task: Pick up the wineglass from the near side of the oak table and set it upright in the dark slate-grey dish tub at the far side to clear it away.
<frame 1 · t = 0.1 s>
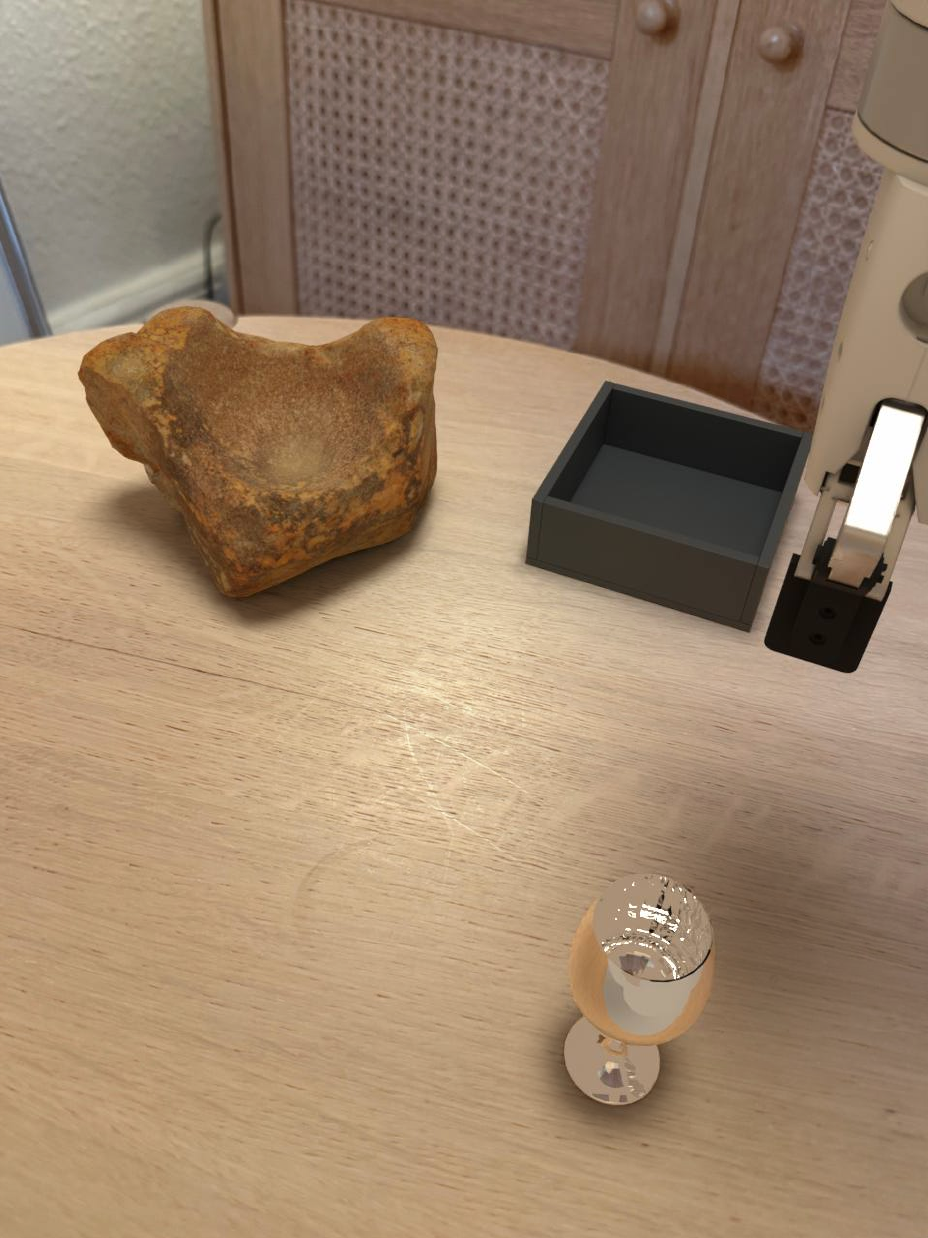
hand: (832, 570, 41), 22 cm above the table, tool pointing down, fingers open, 9 cm apart
rough brown rock: (279, 543, 75), on the table
wineglass: (611, 1058, 50), on the table
dish tub: (665, 528, 77), on the table
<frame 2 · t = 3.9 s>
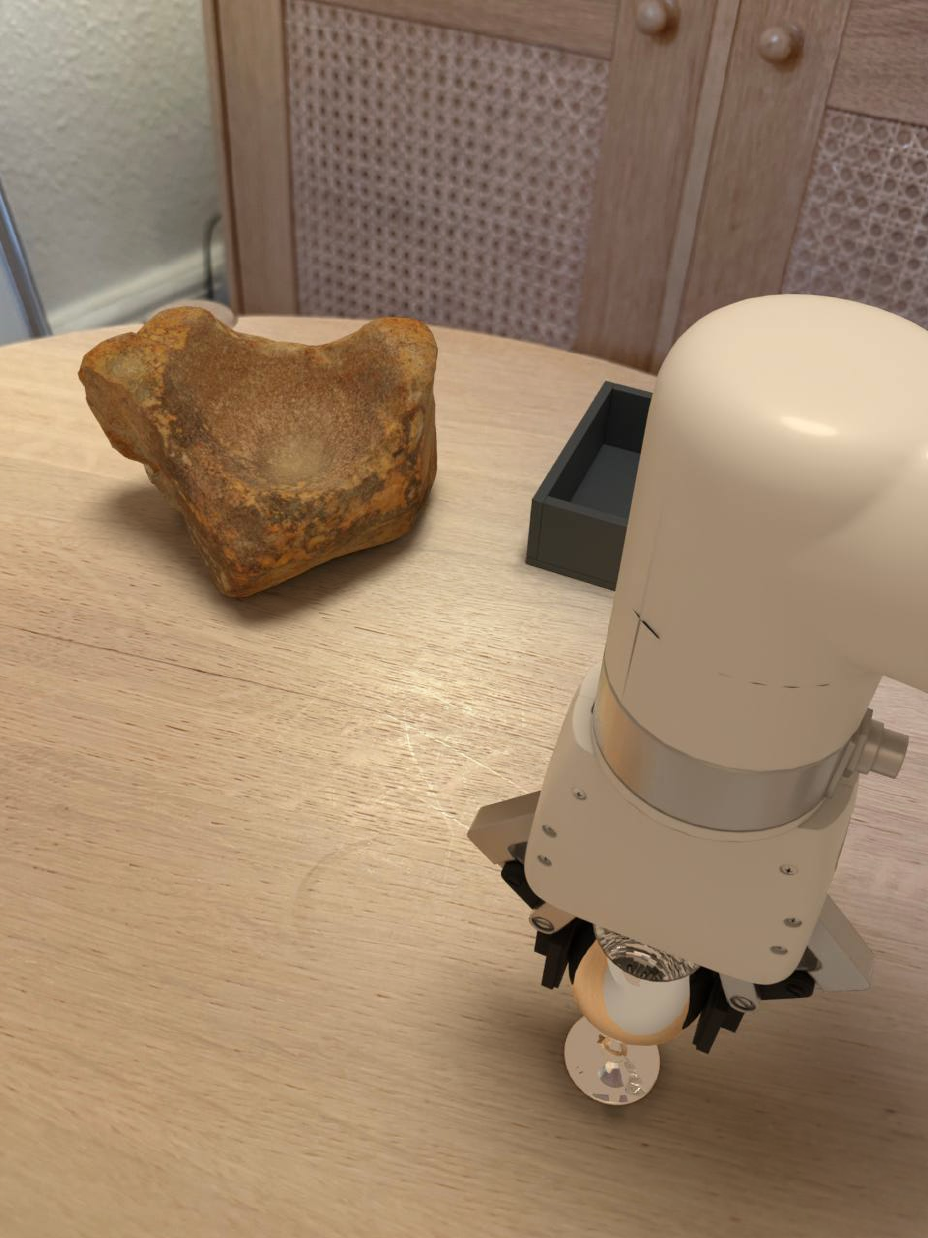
hand: (633, 986, 45), 7 cm above the table, tool pointing down, fingers closed on wineglass, 5 cm apart
wineglass: (611, 1058, 50), on the table, touching gripper
everything else where it was.
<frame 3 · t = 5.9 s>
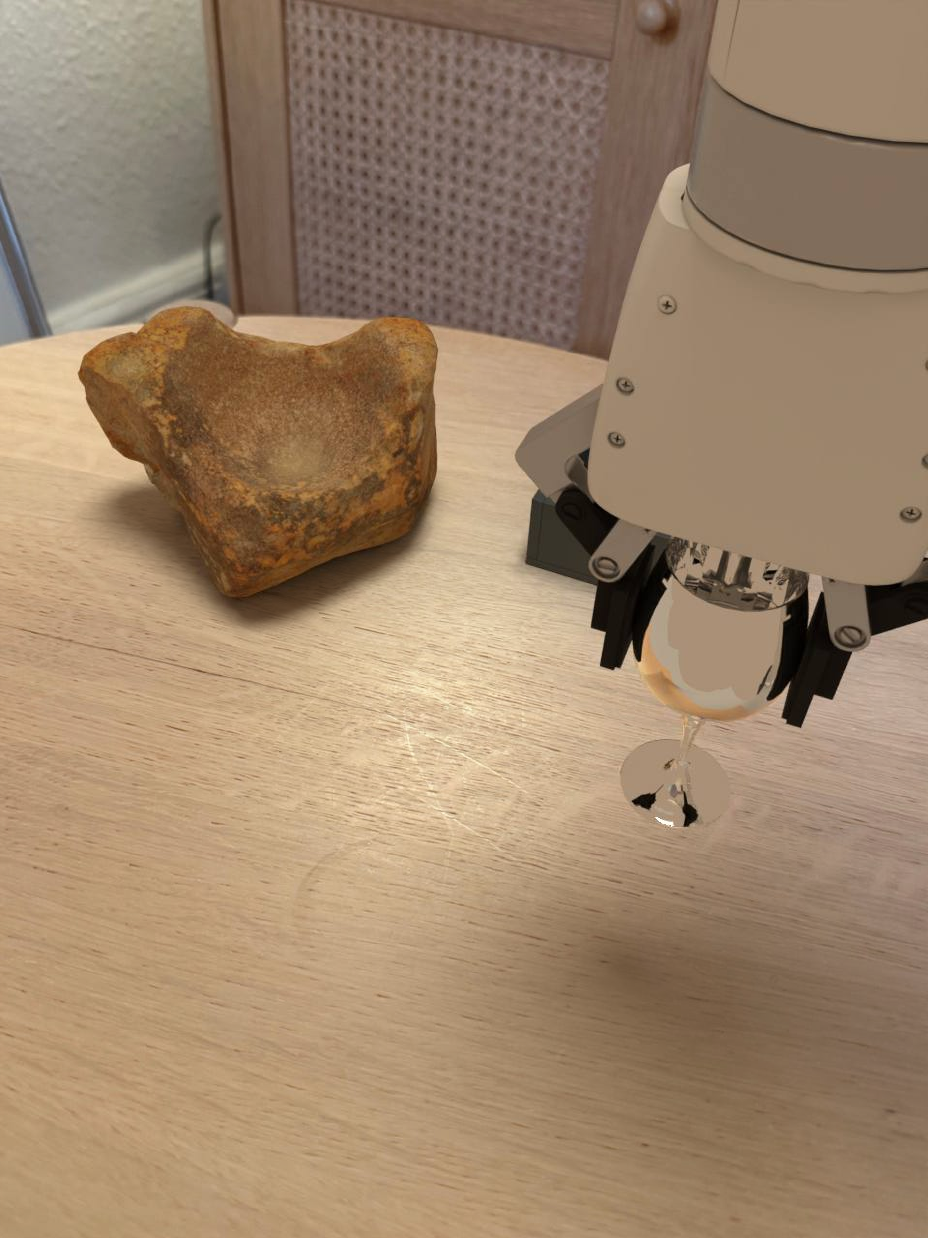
hand: (707, 666, 39), 21 cm above the table, tool pointing down, fingers closed on wineglass, 5 cm apart
wineglass: (674, 787, 44), point 14 cm above the table, touching gripper
everything else where it was.
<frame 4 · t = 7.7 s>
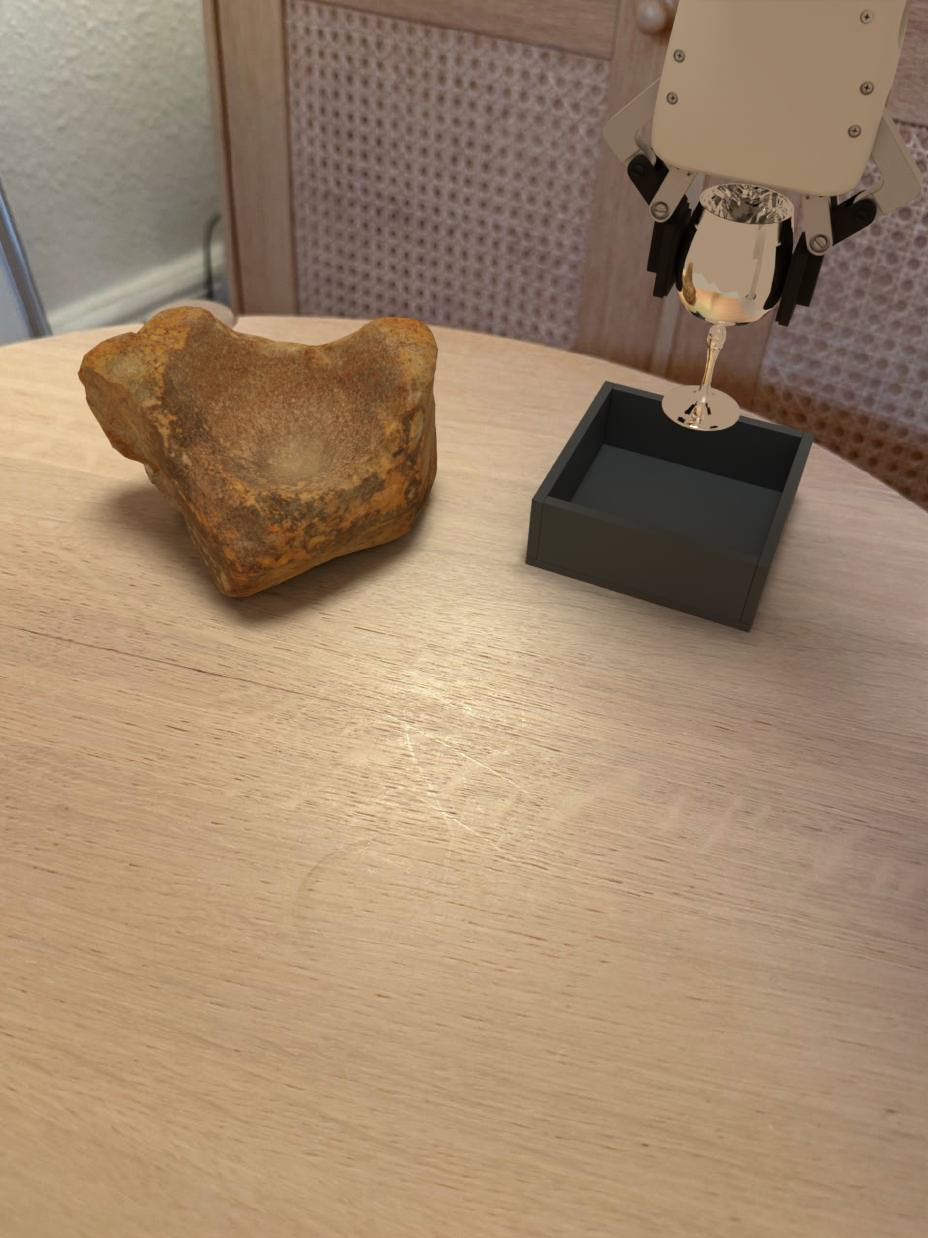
hand: (725, 296, 57), 22 cm above the table, tool pointing down, fingers closed on wineglass, 5 cm apart
wineglass: (700, 411, 62), point 15 cm above the table, touching gripper
everything else where it was.
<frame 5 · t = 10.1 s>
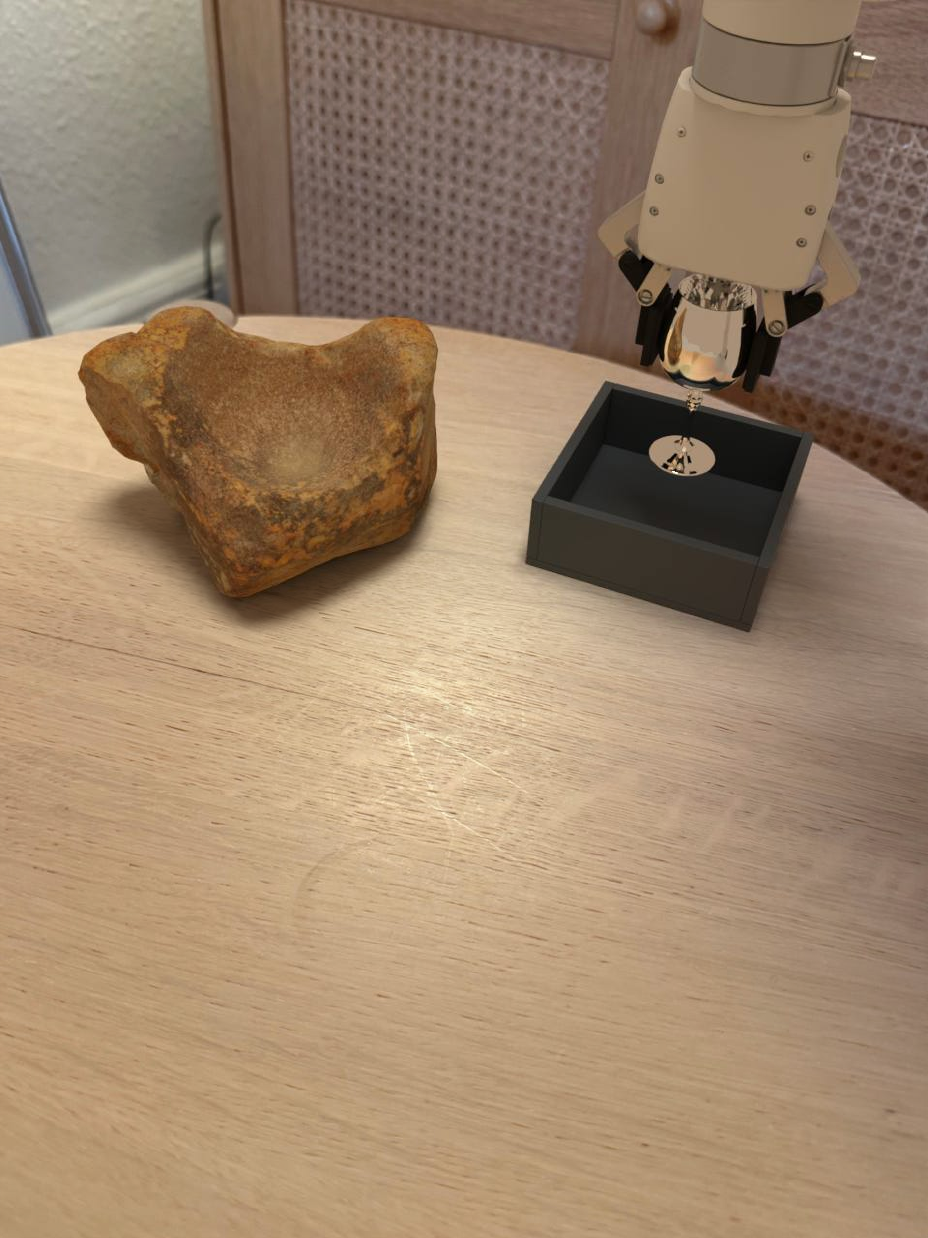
hand: (701, 366, 68), 13 cm above the table, tool pointing down, fingers closed on wineglass, 5 cm apart
wineglass: (681, 458, 73), point 6 cm above the table, touching gripper
everything else where it was.
when the fingers open (8 cm above the table, at t = 11.9 s): wineglass stays where it is, resting on dish tub.
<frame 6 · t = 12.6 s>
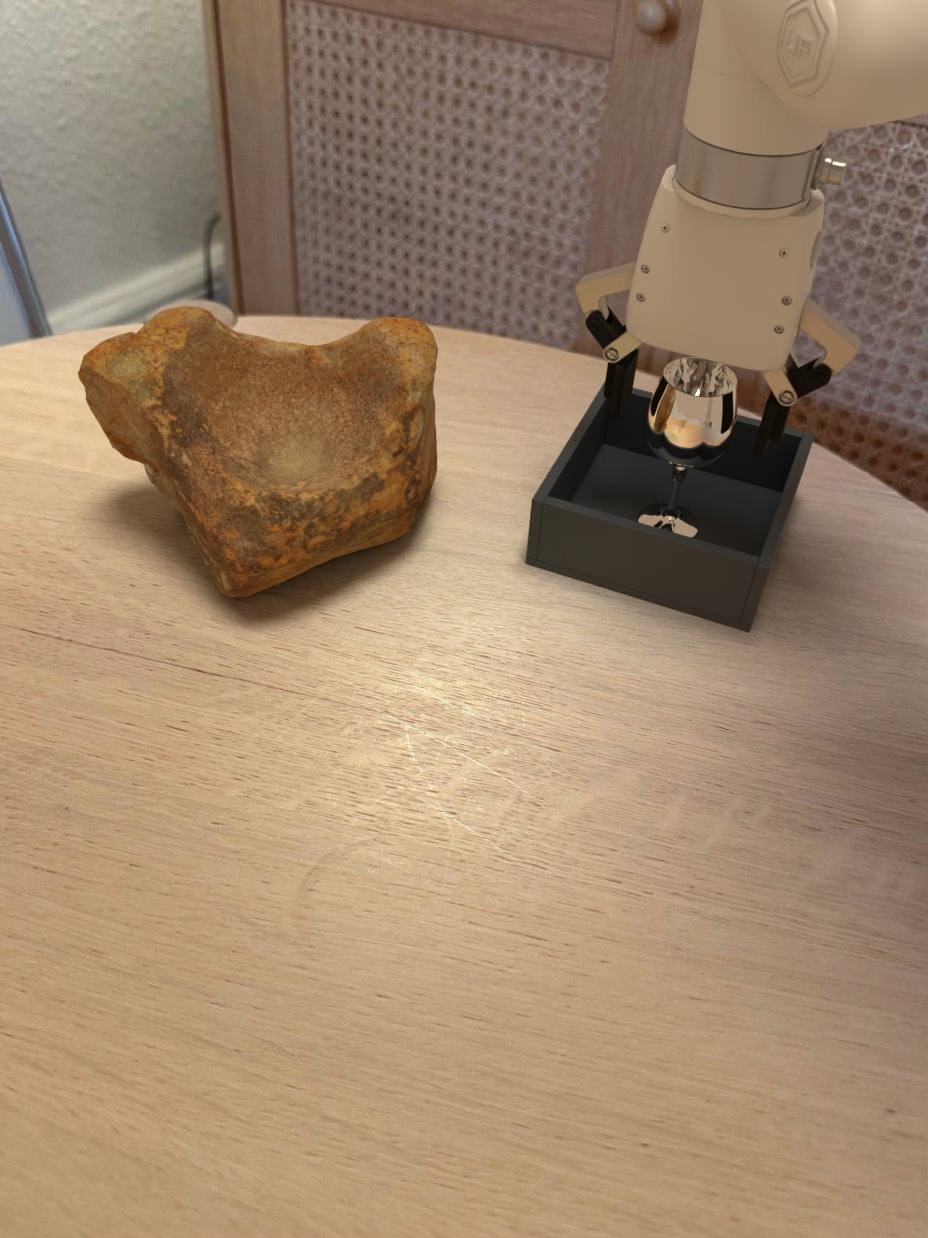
hand: (689, 426, 71), 9 cm above the table, tool pointing down, fingers open, 9 cm apart
wineglass: (667, 525, 77), resting on dish tub
everything else where it was.
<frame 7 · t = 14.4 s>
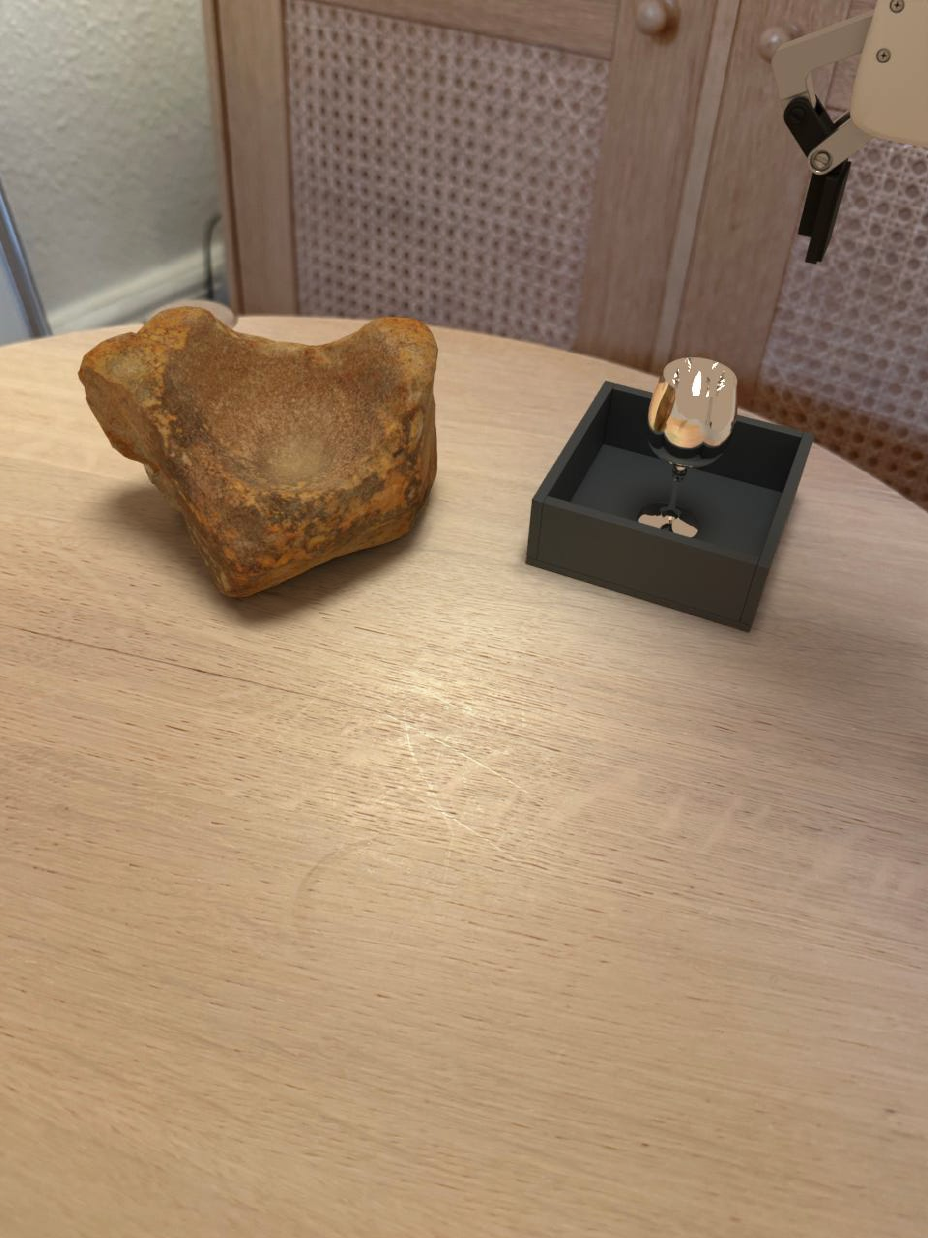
hand: (922, 273, 50), 26 cm above the table, tool pointing down, fingers open, 9 cm apart
nothing on the table moved.
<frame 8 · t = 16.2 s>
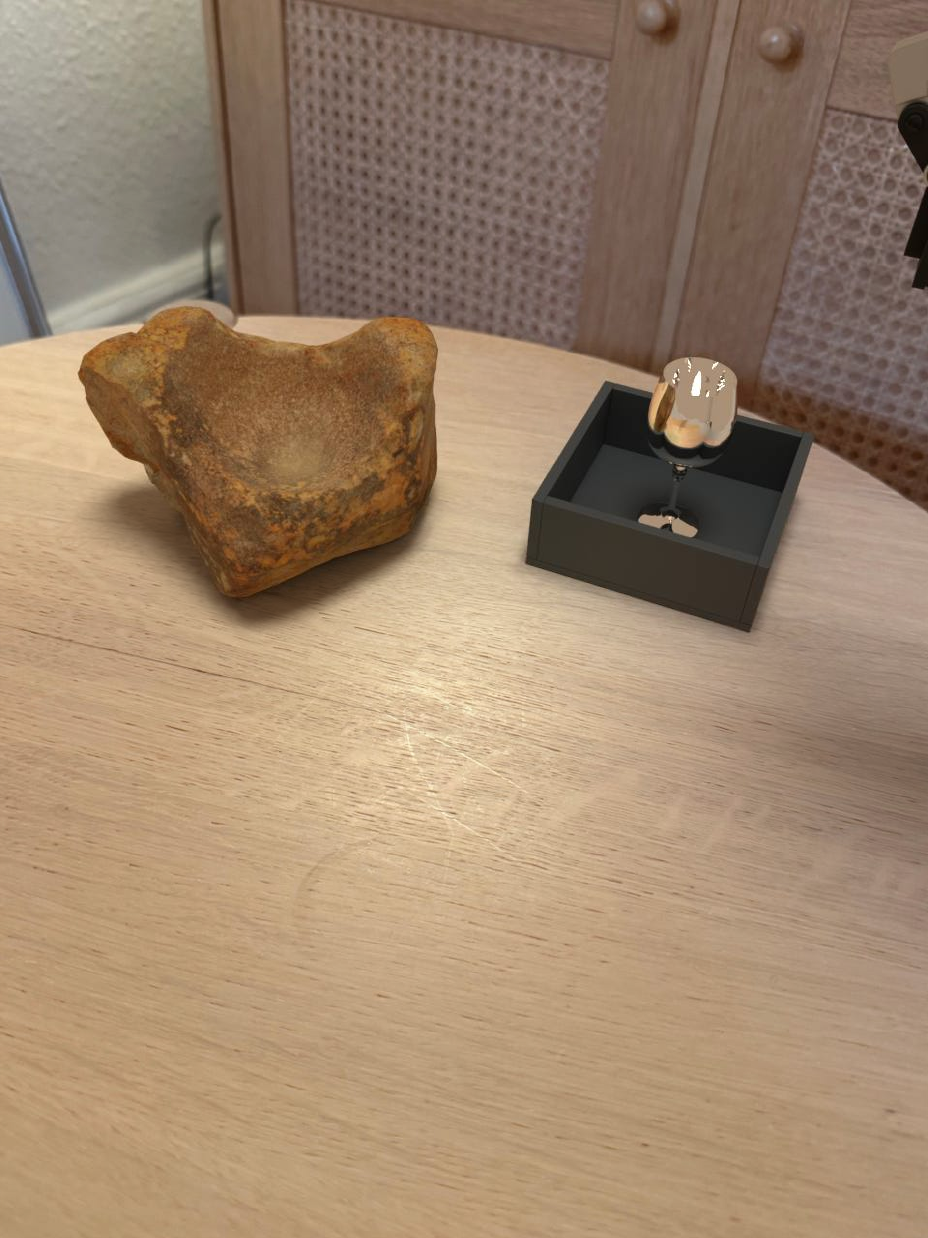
nothing on the table moved.
at the end: wineglass inside the target area in the dish tub (0.1 cm from its centre), point 0.4 cm above the dish tub's base; wineglass tilted 0°; the gripper is holding nothing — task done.
